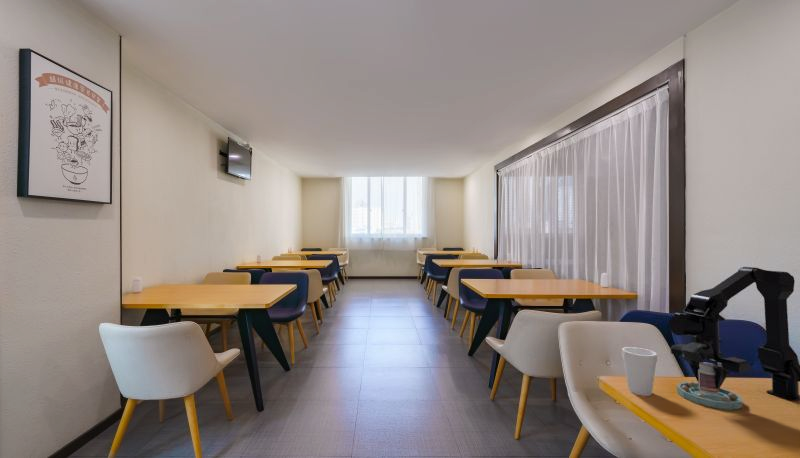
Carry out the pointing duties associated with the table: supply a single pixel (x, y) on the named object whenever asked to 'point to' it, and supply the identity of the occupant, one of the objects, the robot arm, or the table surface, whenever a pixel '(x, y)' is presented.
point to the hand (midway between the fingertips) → (708, 384)
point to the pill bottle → (707, 378)
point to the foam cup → (639, 369)
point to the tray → (710, 397)
